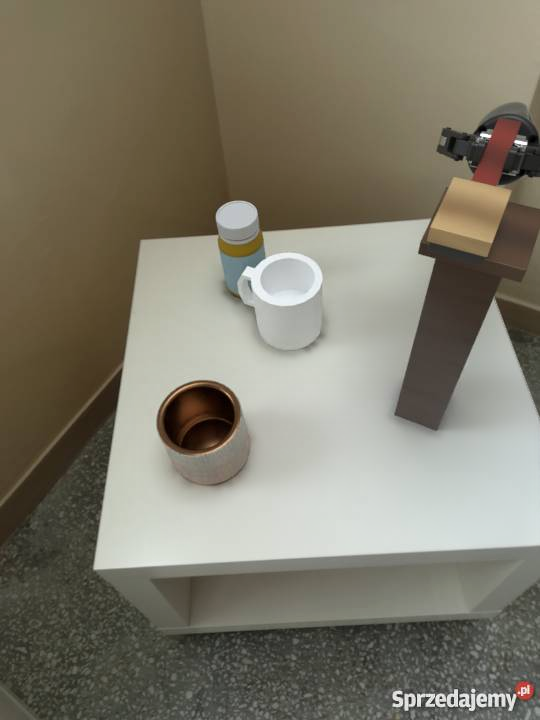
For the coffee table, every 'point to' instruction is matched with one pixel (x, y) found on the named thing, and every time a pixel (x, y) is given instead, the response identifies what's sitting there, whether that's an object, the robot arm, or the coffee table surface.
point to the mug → (285, 299)
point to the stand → (460, 312)
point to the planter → (204, 431)
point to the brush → (475, 203)
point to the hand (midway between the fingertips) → (494, 158)
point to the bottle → (239, 241)
